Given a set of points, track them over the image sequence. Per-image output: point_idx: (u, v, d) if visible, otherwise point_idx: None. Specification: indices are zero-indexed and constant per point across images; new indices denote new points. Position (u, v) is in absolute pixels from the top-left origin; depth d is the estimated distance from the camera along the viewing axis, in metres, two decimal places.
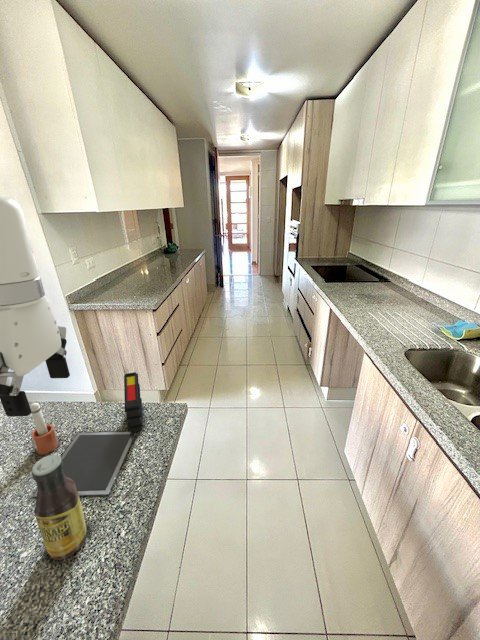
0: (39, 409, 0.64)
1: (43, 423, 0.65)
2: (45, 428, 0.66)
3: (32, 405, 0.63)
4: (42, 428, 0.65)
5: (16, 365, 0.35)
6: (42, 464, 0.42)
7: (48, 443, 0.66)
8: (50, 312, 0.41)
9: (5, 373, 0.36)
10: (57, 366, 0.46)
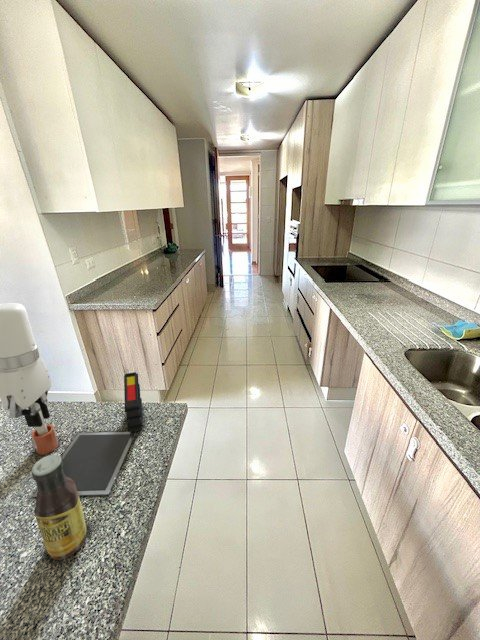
0: (39, 409, 0.64)
1: (43, 423, 0.65)
2: (45, 428, 0.66)
3: None
4: (42, 428, 0.65)
5: (22, 403, 0.57)
6: (42, 464, 0.42)
7: (48, 443, 0.66)
8: (43, 365, 0.64)
9: None
10: None
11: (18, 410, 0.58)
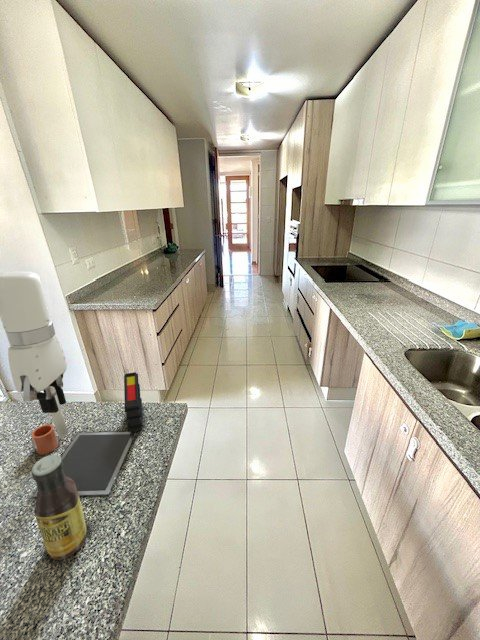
0: (55, 393, 0.58)
1: (59, 409, 0.59)
2: (61, 415, 0.60)
3: None
4: (58, 414, 0.59)
5: (37, 384, 0.51)
6: (42, 464, 0.42)
7: (48, 443, 0.66)
8: (59, 344, 0.57)
9: None
10: None
11: (33, 392, 0.52)
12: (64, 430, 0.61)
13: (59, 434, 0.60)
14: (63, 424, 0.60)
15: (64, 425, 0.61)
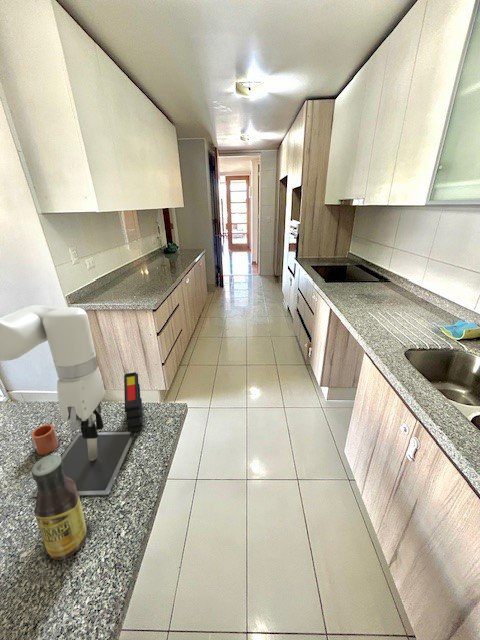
0: (95, 420, 0.60)
1: None
2: (96, 440, 0.62)
3: None
4: (93, 440, 0.61)
5: (82, 414, 0.54)
6: (42, 464, 0.42)
7: (48, 443, 0.66)
8: (99, 373, 0.60)
9: (80, 417, 0.57)
10: None
11: (78, 422, 0.54)
12: (95, 454, 0.63)
13: (90, 457, 0.63)
14: (96, 448, 0.63)
15: (96, 449, 0.63)
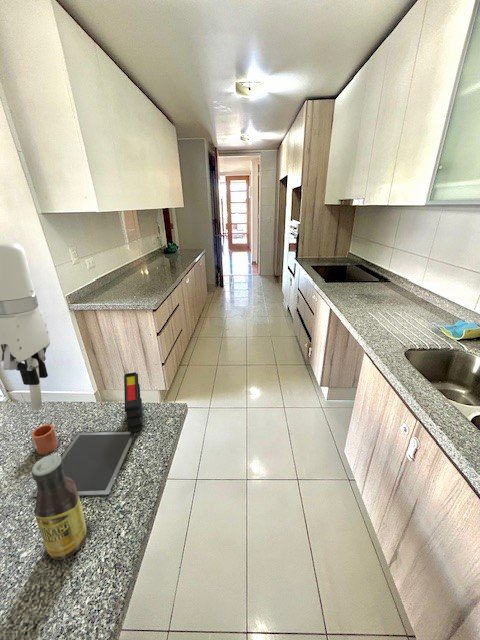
0: (37, 366, 0.59)
1: None
2: (39, 388, 0.61)
3: None
4: (36, 387, 0.60)
5: (17, 354, 0.52)
6: (42, 464, 0.42)
7: (48, 443, 0.66)
8: (42, 318, 0.58)
9: None
10: None
11: (13, 362, 0.53)
12: (38, 404, 0.62)
13: (33, 407, 0.61)
14: (39, 397, 0.61)
15: (40, 399, 0.62)
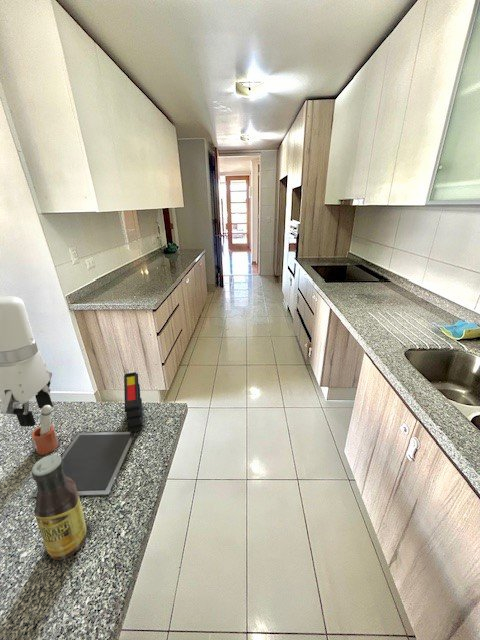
0: (50, 412, 0.64)
1: (49, 425, 0.65)
2: (49, 430, 0.66)
3: (45, 407, 0.63)
4: (46, 430, 0.65)
5: (20, 397, 0.57)
6: (42, 464, 0.42)
7: (48, 443, 0.66)
8: (41, 360, 0.63)
9: (17, 402, 0.59)
10: (43, 400, 0.66)
11: (11, 406, 0.56)
12: None
13: None
14: None
15: None
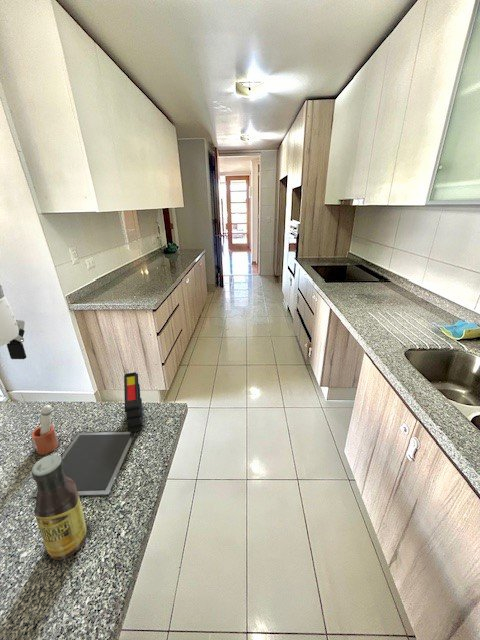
0: (50, 412, 0.64)
1: (49, 425, 0.65)
2: (49, 430, 0.66)
3: (45, 407, 0.63)
4: (46, 430, 0.65)
5: None
6: (42, 464, 0.42)
7: (48, 443, 0.66)
8: (9, 309, 0.56)
9: None
10: (16, 350, 0.61)
11: None
12: None
13: None
14: None
15: None
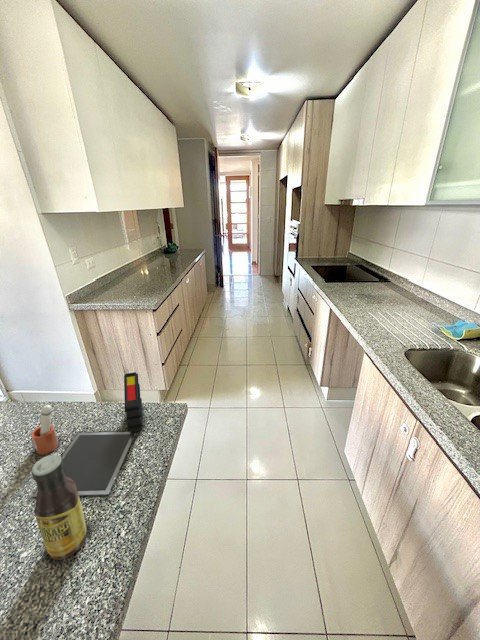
0: (50, 412, 0.64)
1: (49, 425, 0.65)
2: (49, 430, 0.66)
3: (45, 407, 0.63)
4: (46, 430, 0.65)
5: None
6: (42, 464, 0.42)
7: (48, 443, 0.66)
8: None
9: None
10: None
11: None
12: None
13: None
14: None
15: None
